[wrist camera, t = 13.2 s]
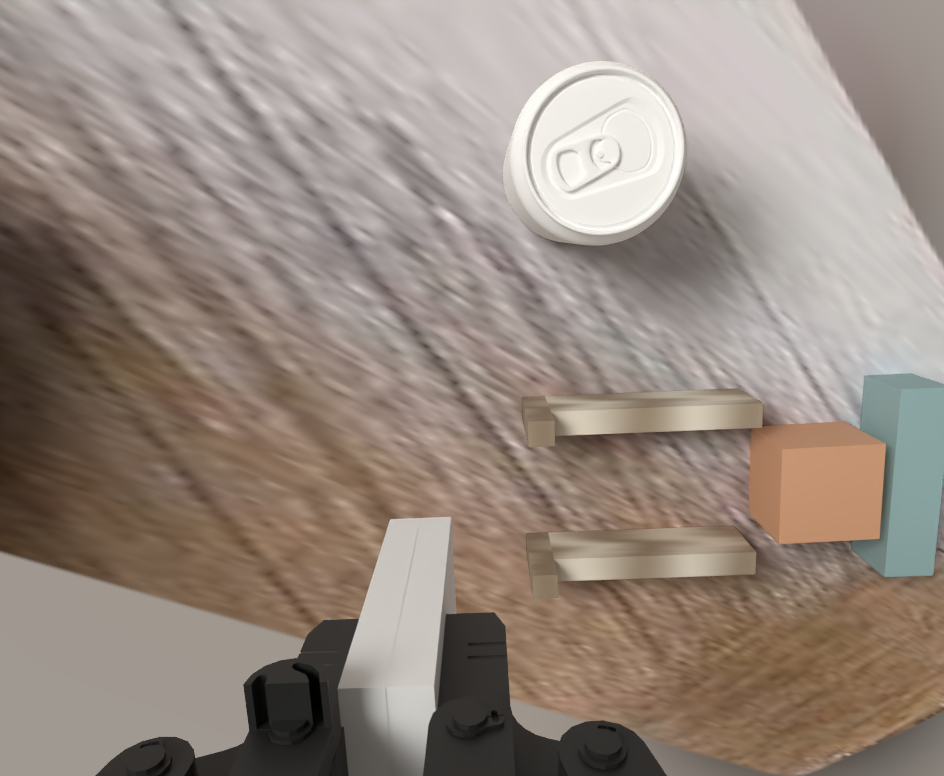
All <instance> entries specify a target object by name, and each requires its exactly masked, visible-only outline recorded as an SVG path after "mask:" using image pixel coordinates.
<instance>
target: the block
mask: <svg viewBox="0 0 944 776" xmlns="http://www.w3.org/2000/svg"><path fill="white" fill-rule="evenodd" d="M885 452H886V443H884V442H882V441H880V440H878V439H876V438H874V437H872V436H870V435H869V434H867V433H865V432H863V431H861V430H859V429H857V428H855V427H853V426H851V425H850V424H848V423H846V422H844V421H843V422H825V423H807V424H790V425H772V426H762V428H751V445H750V486H749V513H750V514H751V515H752V516H753V517H754V519H755V520H756V521H757V522H758V523H759V524H760V525H761V526H762V527H763V528H764V529H765V530H766V531H767V532H768V533H769V534H770V535H771V536H772V537H773V538H774V540H775V541H776V542H777V543H778V544H792V543H811V542H831V541H850V540H869V539H879V538H880V523H881V509H882V495H883V480H884V466H885Z"/></svg>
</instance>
